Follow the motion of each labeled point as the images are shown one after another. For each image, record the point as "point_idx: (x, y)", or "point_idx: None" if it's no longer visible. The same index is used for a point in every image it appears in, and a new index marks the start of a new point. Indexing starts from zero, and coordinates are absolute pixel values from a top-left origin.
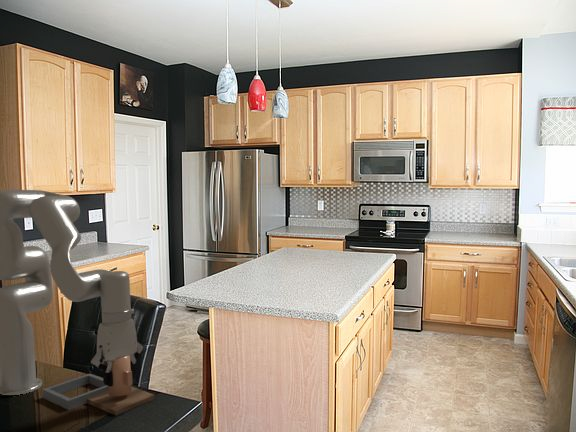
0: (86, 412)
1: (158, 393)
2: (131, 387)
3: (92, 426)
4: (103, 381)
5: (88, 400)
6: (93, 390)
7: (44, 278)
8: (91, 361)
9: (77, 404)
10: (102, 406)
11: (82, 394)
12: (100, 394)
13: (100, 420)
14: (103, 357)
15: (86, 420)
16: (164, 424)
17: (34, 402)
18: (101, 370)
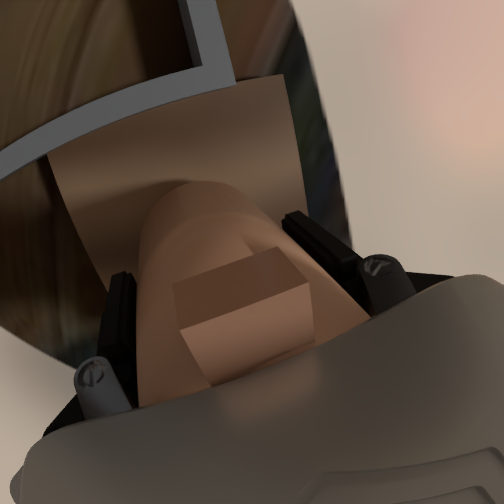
0: (46, 249)
1: (346, 236)
2: (289, 145)
3: (75, 364)
4: (103, 316)
5: (52, 165)
6: (77, 116)
7: None
8: (14, 495)
9: (9, 175)
10: (104, 281)
11: (18, 147)
12: (117, 130)
13: (96, 343)
14: (95, 431)
15: (51, 318)
16: None
17: None
18: (82, 373)
